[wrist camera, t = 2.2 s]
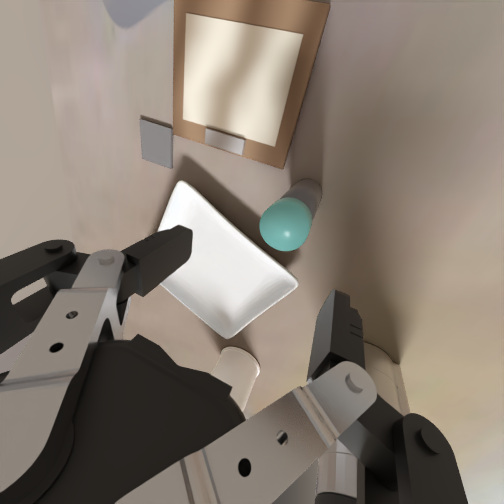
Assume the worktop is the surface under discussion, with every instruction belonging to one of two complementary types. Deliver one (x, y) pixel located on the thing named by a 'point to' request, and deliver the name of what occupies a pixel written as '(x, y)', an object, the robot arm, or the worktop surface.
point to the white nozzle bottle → (237, 373)
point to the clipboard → (244, 72)
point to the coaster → (157, 143)
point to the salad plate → (221, 267)
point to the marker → (291, 216)
